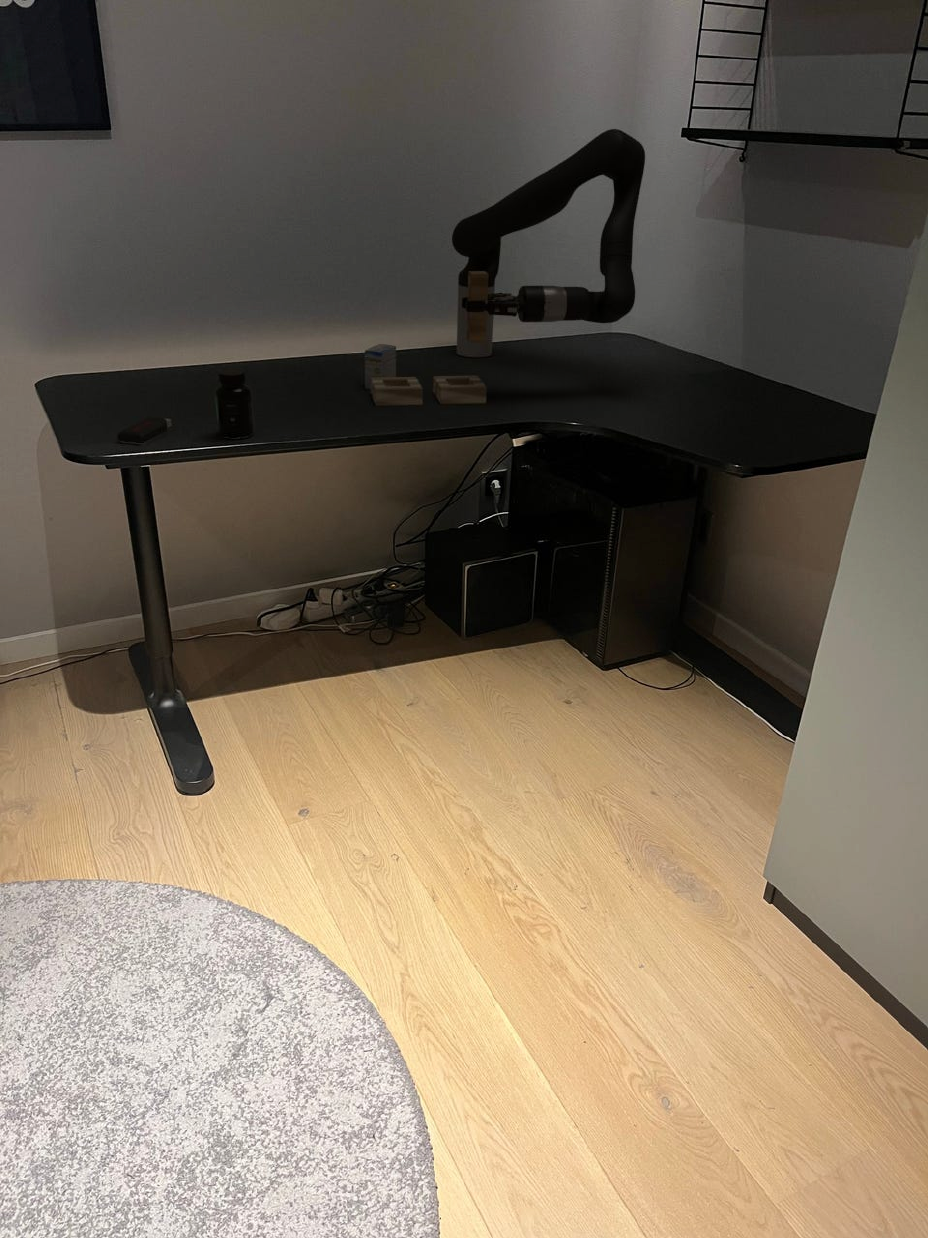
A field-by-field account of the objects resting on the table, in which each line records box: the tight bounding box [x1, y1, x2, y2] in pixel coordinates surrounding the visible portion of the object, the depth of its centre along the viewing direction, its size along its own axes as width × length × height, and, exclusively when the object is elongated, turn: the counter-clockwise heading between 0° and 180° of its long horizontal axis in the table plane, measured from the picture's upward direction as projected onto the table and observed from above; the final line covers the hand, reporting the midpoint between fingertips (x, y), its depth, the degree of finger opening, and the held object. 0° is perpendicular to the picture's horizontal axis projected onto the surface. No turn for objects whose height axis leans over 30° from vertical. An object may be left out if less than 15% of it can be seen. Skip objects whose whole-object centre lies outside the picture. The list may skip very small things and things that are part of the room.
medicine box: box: [364, 343, 397, 390], centre depth 221 cm, size 8×4×9 cm, turn 160°
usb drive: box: [116, 416, 173, 443], centre depth 185 cm, size 5×12×3 cm, turn 165°
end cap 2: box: [432, 375, 488, 405], centre depth 215 cm, size 10×10×4 cm
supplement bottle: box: [214, 368, 255, 438], centre depth 185 cm, size 7×7×12 cm
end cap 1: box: [370, 376, 424, 407], centre depth 212 cm, size 10×10×4 cm
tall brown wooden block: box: [467, 271, 488, 342], centre depth 208 cm, size 4×4×14 cm
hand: (464, 304), depth 207 cm, fingers closed on tall brown wooden block, 3 cm apart
